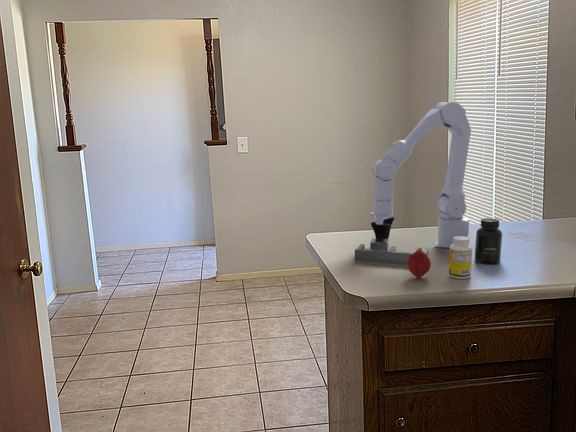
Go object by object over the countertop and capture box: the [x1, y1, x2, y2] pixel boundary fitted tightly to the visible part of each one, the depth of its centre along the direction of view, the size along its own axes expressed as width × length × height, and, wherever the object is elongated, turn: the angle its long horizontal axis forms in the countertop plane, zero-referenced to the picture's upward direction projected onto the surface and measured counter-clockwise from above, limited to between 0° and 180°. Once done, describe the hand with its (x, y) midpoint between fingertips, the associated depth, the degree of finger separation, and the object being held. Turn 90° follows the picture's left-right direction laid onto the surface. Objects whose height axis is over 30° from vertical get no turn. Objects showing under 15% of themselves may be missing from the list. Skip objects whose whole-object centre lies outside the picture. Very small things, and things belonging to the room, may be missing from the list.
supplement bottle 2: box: [474, 217, 503, 265], centre depth 157 cm, size 7×7×12 cm
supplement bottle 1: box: [448, 236, 473, 280], centre depth 144 cm, size 6×6×10 cm
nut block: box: [369, 237, 390, 251], centre depth 168 cm, size 5×5×4 cm
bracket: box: [353, 243, 429, 267], centre depth 160 cm, size 20×10×4 cm, turn 72°
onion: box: [407, 247, 432, 279], centre depth 144 cm, size 6×6×8 cm
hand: (382, 242), depth 174 cm, fingers open, 7 cm apart
